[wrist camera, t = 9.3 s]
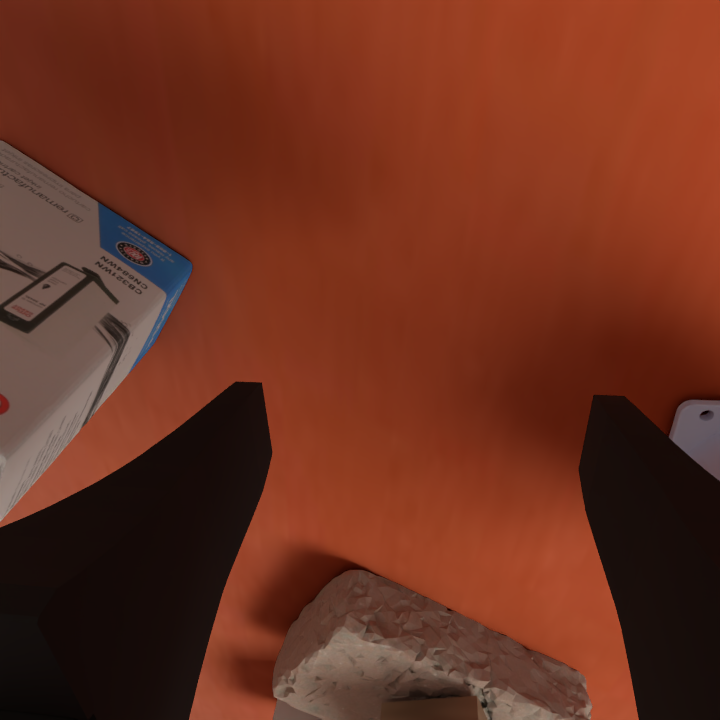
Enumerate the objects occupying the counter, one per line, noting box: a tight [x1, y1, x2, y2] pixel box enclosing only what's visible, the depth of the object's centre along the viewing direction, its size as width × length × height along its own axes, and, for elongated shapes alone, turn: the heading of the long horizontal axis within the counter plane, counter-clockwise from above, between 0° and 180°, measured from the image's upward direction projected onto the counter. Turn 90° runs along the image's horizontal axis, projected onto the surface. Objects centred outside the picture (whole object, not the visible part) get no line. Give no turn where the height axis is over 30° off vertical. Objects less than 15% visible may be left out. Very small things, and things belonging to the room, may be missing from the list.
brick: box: [272, 570, 593, 720], centre depth 33 cm, size 17×8×5 cm, turn 60°
